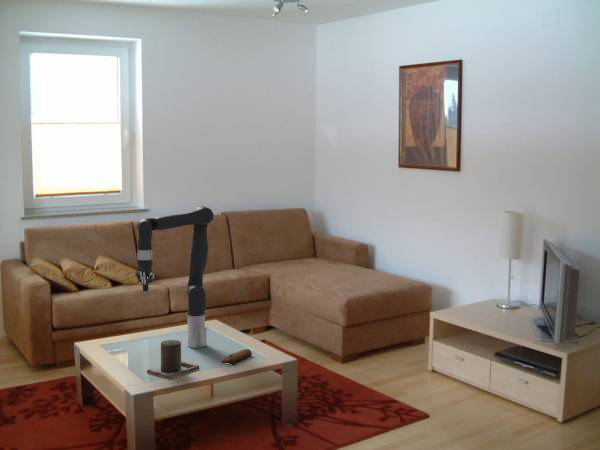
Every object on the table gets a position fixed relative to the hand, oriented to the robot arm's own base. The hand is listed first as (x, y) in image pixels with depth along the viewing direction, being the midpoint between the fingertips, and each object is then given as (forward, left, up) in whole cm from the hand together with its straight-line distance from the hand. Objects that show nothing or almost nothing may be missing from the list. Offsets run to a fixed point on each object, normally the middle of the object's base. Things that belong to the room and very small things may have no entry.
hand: (145, 291), depth 370 cm
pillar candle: (+3, +35, -32) cm, 48 cm away
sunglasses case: (-31, +38, -33) cm, 59 cm away
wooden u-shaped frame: (+2, +37, -32) cm, 49 cm away
